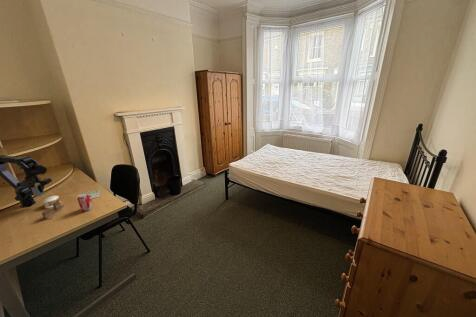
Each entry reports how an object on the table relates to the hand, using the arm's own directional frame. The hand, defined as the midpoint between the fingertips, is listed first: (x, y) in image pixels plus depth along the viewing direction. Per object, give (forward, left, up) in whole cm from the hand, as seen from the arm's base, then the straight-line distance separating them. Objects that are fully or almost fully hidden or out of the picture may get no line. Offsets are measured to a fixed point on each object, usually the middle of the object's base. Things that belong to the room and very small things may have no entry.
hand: (38, 192), depth 144 cm
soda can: (+36, -14, -11) cm, 40 cm away
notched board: (+14, -13, -11) cm, 22 cm away
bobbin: (+7, -1, -11) cm, 13 cm away
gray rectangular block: (0, 0, -2) cm, 2 cm away
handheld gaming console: (+30, +8, -12) cm, 33 cm away
